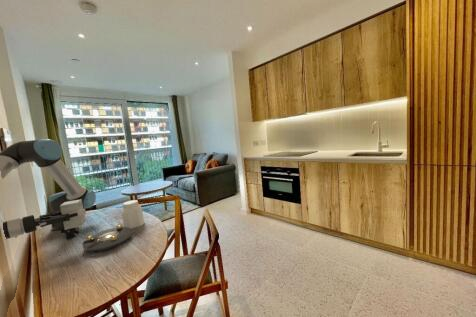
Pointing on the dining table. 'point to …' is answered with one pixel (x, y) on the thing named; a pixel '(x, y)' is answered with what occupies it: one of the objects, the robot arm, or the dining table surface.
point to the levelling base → (107, 239)
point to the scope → (70, 232)
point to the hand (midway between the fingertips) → (83, 209)
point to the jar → (132, 214)
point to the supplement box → (72, 207)
